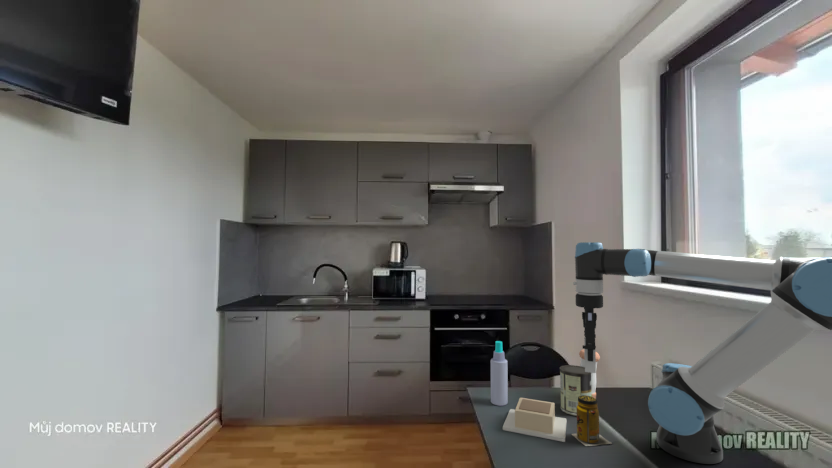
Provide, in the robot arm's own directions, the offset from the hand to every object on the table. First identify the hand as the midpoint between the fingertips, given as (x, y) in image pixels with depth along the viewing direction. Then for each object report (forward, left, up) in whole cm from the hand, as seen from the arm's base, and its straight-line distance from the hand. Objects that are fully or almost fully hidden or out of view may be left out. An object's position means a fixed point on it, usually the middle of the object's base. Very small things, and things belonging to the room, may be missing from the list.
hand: (589, 365), depth 112 cm
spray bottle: (+30, -15, -22) cm, 40 cm away
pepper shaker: (+1, -29, -21) cm, 36 cm away
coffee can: (+4, -19, -22) cm, 29 cm away
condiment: (0, 0, -22) cm, 22 cm away
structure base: (+16, -2, -22) cm, 27 cm away
